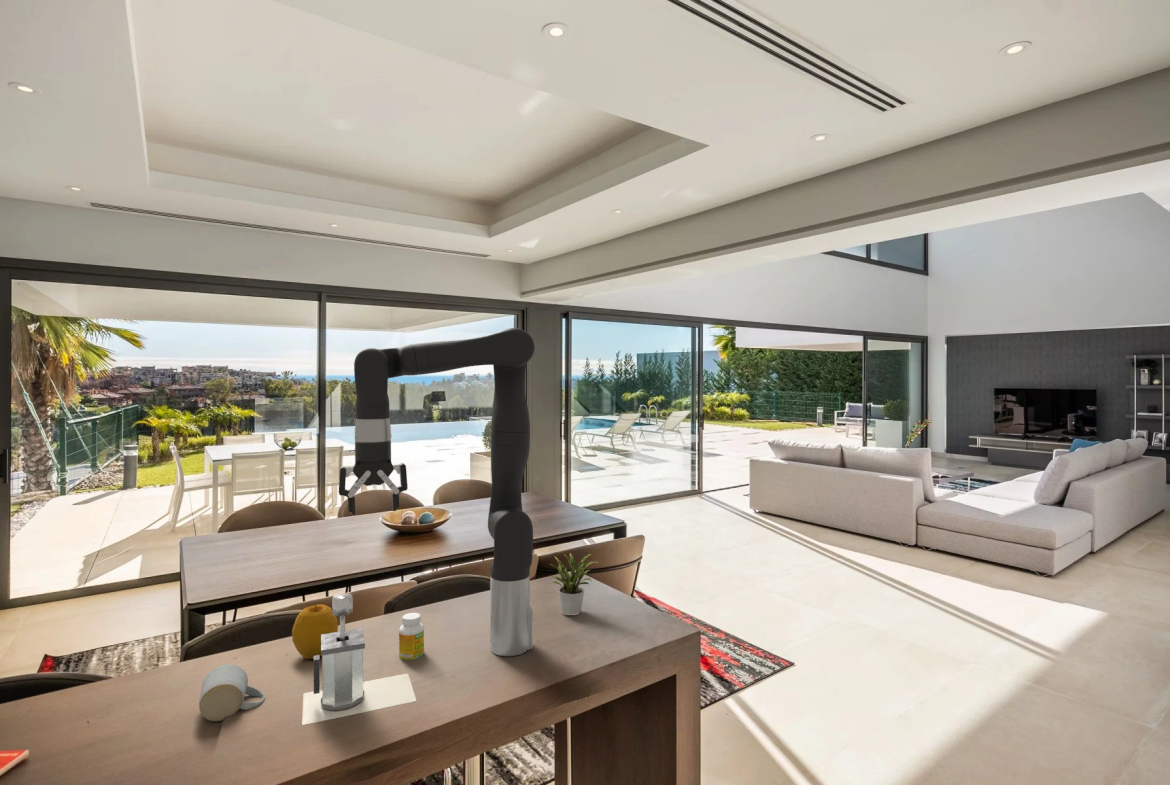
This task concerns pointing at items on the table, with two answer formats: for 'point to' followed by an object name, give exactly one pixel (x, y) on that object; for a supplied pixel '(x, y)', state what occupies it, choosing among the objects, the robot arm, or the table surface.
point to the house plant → (571, 585)
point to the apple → (313, 629)
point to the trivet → (375, 697)
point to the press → (340, 670)
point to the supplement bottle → (411, 637)
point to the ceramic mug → (226, 693)
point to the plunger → (342, 610)
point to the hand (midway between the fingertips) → (373, 512)
